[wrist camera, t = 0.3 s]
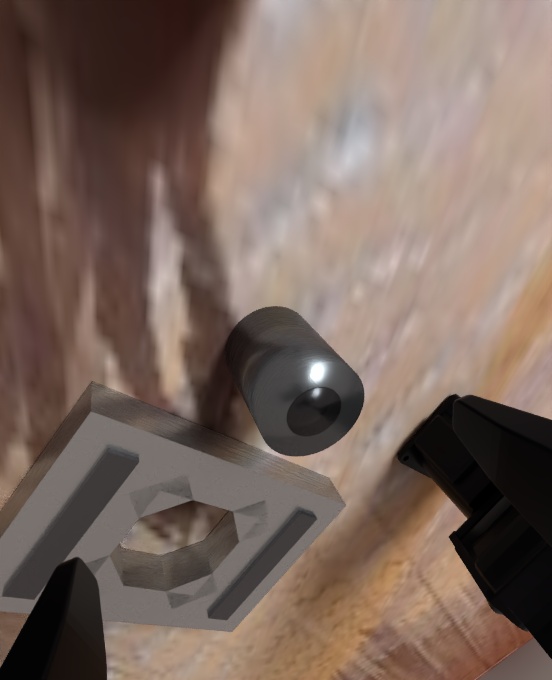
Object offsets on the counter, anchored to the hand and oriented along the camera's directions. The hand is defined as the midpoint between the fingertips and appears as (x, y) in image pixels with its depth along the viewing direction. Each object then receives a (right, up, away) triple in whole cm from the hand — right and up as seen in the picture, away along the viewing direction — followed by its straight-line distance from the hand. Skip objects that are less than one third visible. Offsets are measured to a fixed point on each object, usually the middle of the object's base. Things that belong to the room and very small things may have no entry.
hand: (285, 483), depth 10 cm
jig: (-7, -8, +17) cm, 20 cm away
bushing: (-1, +3, +14) cm, 14 cm away
